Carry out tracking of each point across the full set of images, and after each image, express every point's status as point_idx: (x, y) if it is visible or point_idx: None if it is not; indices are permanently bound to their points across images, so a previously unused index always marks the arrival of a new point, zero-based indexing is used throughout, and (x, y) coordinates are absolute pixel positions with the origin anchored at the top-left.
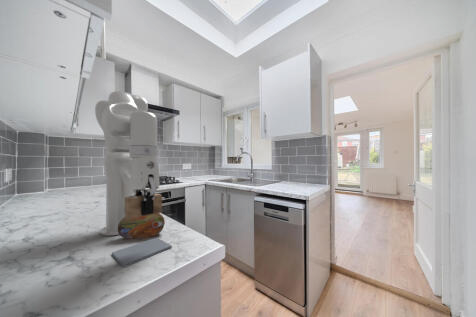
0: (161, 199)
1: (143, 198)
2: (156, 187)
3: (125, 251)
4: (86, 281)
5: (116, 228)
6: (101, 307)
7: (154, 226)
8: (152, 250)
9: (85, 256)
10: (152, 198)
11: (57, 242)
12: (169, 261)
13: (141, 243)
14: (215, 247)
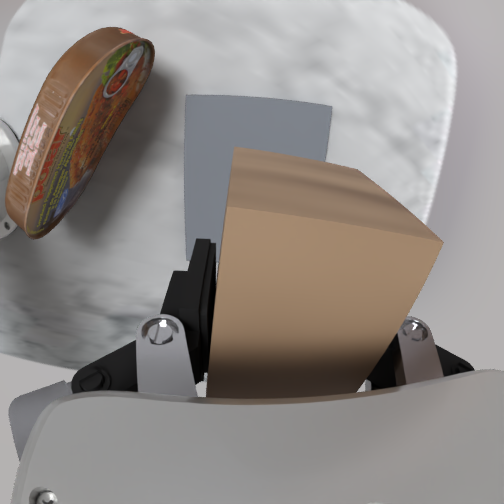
0: (410, 217)
1: (371, 386)
2: (468, 384)
3: (218, 232)
4: None
5: (3, 207)
6: None
7: (118, 86)
8: None
9: (140, 299)
10: (425, 339)
11: (10, 309)
12: (397, 173)
13: (194, 168)
14: (451, 45)
